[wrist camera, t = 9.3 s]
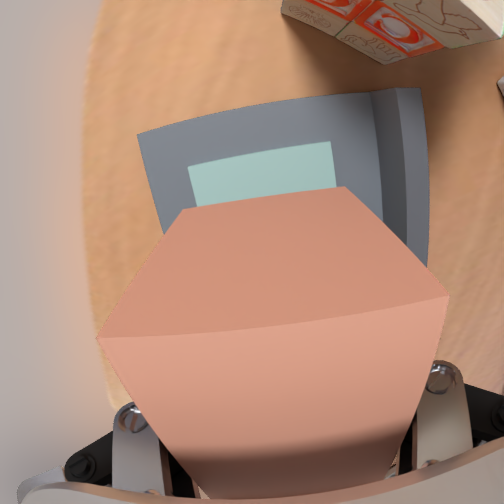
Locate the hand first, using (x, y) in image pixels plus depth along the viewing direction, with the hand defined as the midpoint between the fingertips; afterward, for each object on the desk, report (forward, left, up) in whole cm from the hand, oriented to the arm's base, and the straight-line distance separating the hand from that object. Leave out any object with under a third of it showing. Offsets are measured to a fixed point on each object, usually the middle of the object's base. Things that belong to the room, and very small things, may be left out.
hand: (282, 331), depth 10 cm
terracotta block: (0, 0, -1) cm, 1 cm away
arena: (0, -1, -7) cm, 7 cm away
